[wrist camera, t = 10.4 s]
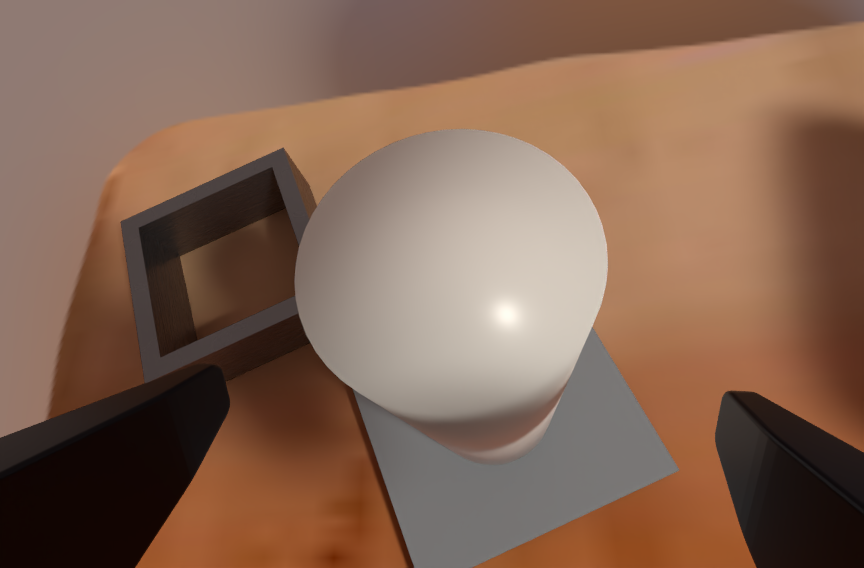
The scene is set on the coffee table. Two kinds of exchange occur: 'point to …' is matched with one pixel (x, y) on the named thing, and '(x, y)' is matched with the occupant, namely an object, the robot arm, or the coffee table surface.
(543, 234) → the white plug
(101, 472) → the robot arm
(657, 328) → the coffee table surface
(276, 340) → the grey square tray
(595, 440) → the slate mat
